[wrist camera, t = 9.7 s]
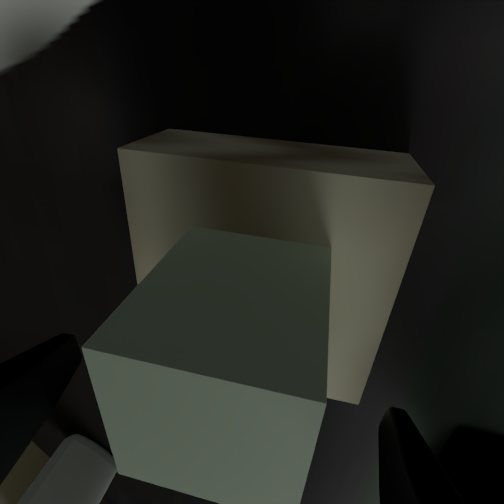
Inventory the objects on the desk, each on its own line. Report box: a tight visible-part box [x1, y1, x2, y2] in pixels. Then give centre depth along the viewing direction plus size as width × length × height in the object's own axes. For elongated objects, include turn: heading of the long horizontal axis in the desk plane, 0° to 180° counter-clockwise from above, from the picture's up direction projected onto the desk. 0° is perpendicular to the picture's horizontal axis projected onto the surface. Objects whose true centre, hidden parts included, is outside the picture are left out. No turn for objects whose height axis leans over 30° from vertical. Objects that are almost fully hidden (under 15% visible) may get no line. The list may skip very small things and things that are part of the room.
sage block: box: [81, 226, 332, 504], centre depth 10 cm, size 5×5×6 cm
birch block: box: [117, 129, 435, 405], centre depth 14 cm, size 10×10×4 cm
